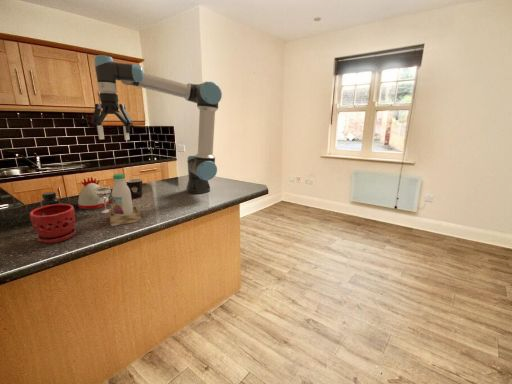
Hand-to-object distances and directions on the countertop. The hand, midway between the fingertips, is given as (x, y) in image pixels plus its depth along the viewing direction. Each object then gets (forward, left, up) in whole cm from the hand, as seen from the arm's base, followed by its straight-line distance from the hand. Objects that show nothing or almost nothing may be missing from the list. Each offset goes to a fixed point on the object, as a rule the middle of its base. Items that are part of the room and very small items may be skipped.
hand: (114, 139), depth 124 cm
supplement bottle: (+29, +2, -35) cm, 45 cm away
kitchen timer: (+13, -12, -35) cm, 39 cm away
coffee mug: (-7, -17, -35) cm, 39 cm away
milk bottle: (+1, +19, -34) cm, 39 cm away
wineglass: (+8, +3, -35) cm, 36 cm away
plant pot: (+25, +28, -35) cm, 51 cm away
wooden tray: (+1, +19, -35) cm, 40 cm away
